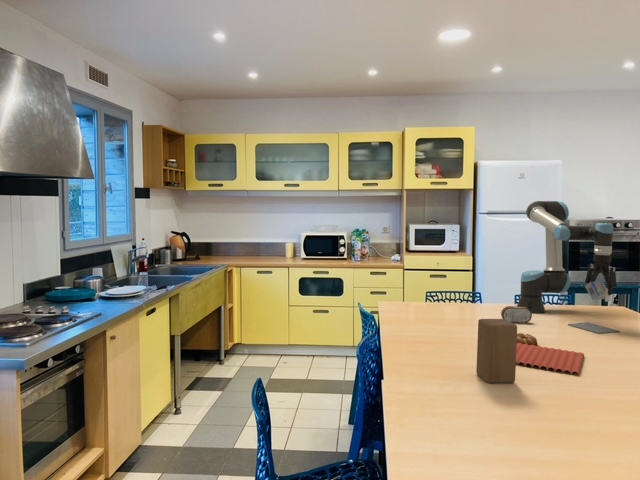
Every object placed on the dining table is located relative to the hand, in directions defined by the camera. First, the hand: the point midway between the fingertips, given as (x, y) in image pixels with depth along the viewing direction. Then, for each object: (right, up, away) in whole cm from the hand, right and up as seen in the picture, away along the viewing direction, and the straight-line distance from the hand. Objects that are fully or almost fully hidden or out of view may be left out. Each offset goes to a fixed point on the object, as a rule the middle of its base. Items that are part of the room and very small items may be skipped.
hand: (599, 299), depth 238 cm
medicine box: (-6, +5, -3) cm, 8 cm away
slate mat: (-3, -15, +1) cm, 15 cm away
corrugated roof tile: (-53, -18, -50) cm, 75 cm away
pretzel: (-50, -16, -28) cm, 59 cm away
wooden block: (-79, -18, -74) cm, 110 cm away
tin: (-37, -14, +11) cm, 41 cm away
